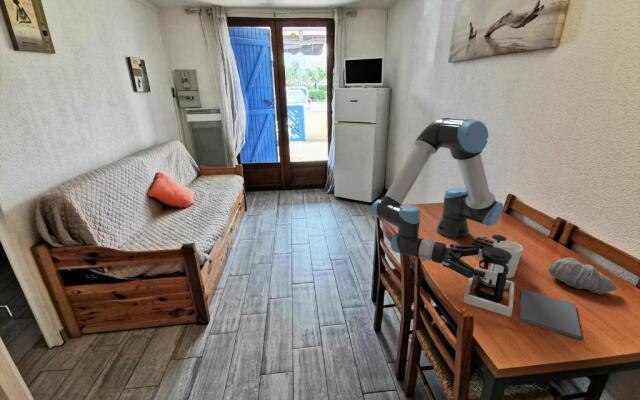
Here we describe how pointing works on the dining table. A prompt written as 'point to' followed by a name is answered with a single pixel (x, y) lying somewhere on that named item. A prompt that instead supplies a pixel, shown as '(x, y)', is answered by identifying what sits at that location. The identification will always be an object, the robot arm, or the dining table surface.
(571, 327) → the slate mat
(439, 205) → the dining table surface
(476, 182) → the robot arm
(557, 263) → the seashell
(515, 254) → the candle holder
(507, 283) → the holder frame
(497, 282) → the french press
